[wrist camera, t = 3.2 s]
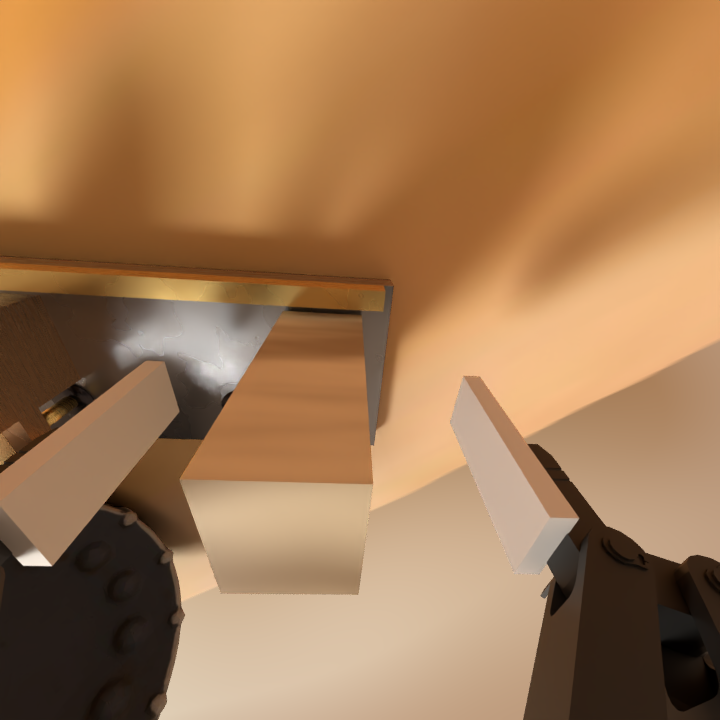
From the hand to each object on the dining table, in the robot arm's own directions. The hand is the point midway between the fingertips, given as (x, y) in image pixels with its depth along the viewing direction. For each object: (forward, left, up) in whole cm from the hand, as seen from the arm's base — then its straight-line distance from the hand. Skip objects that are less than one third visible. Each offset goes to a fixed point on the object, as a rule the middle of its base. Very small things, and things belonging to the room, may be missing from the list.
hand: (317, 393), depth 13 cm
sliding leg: (+1, 0, -3) cm, 4 cm away
